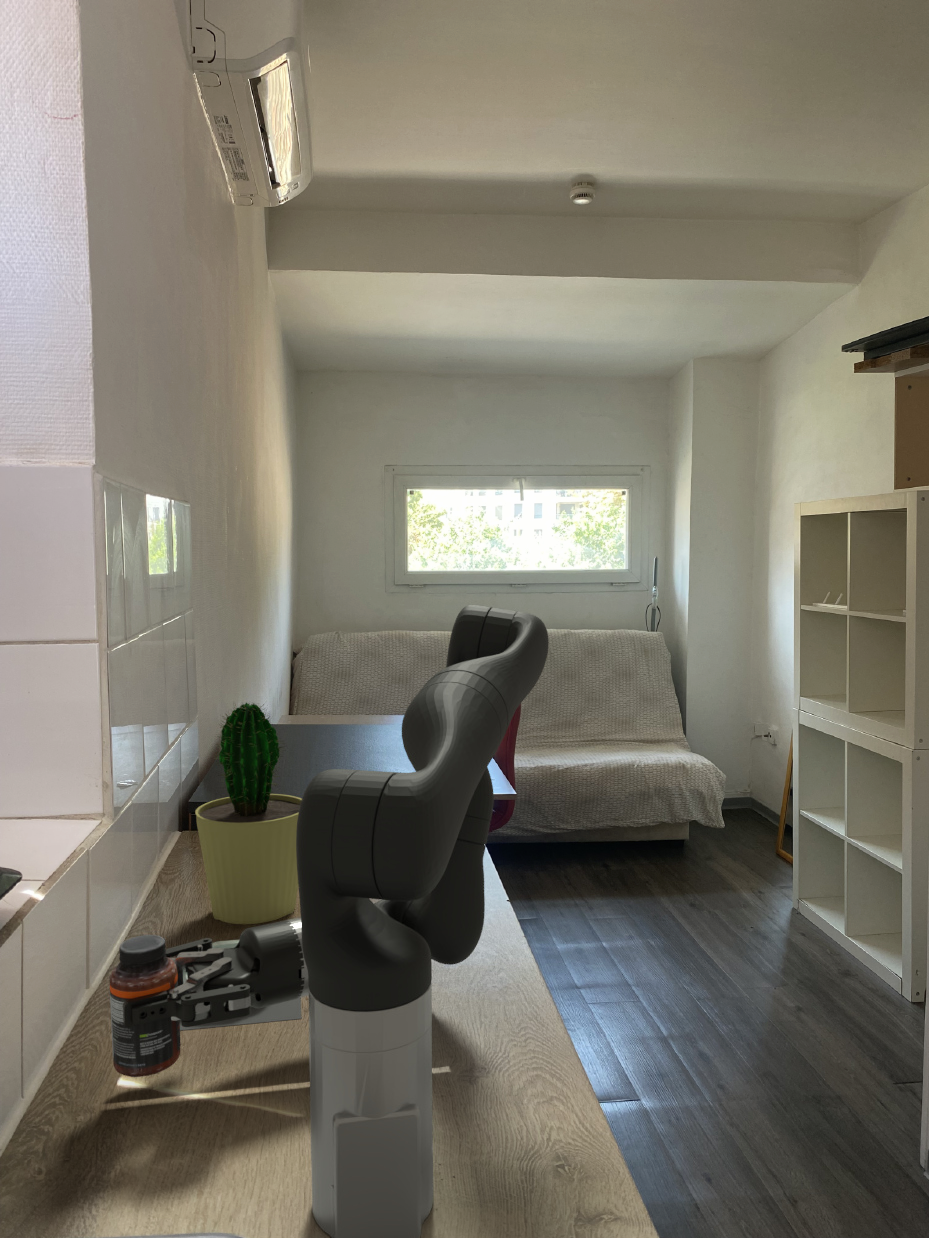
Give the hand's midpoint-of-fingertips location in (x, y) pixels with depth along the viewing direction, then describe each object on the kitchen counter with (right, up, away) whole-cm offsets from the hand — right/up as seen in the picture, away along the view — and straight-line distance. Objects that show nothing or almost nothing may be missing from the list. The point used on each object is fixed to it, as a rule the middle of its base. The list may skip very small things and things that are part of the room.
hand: (117, 999), depth 83 cm
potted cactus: (+2, -7, +46) cm, 46 cm away
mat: (+4, -8, +22) cm, 24 cm away
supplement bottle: (+2, -7, +2) cm, 7 cm away
